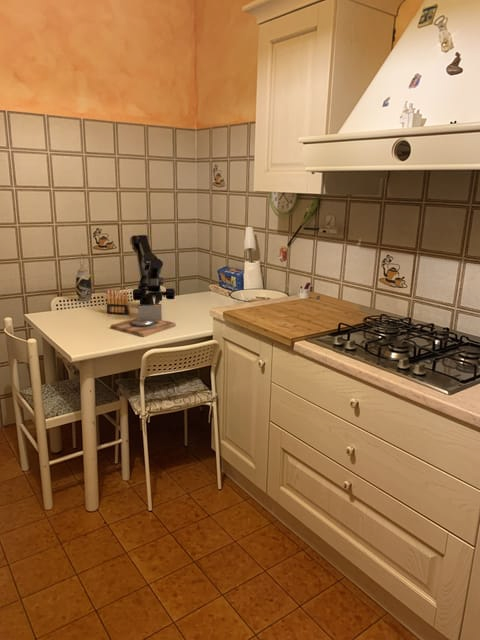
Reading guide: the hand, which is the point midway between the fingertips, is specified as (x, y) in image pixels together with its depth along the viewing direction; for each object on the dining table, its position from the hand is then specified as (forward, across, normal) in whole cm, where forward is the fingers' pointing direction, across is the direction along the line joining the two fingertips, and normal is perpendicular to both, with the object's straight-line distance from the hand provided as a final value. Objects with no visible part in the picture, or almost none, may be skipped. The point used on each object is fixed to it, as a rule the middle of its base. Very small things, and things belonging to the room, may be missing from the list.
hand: (154, 310), depth 221 cm
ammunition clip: (-9, -17, +19) cm, 27 cm away
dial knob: (+6, -4, +1) cm, 7 cm away
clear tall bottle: (-31, -36, +40) cm, 62 cm away
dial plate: (+7, -5, +2) cm, 9 cm away
